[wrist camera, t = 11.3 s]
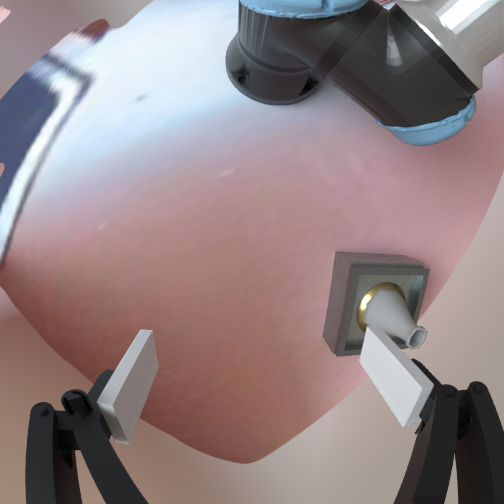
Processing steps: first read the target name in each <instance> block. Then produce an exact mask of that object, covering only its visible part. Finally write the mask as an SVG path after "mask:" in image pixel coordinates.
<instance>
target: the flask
mask: <svg viewBox="0 0 504 504" xmlns="http://www.w3.org/2000/svg"><path fill="white" fill-rule="evenodd" d="M363 322H364V323H365V324H367V325H368V326H372V325H378V326H379V327H380V328H381V329H382V330H383V331H384V332H385V333H387V334H391V335H394V336H398V337H400V338H401V339H403V340H405V341H406V345H407V346H408V347H409V348H410V349H416V348H419V347H420V346H421V345H422V343H423V342H424V341H425V339H426V336H427V331H426V330H425V329H424V328H423V327H422V326H421V327H418V326H417V325H416V324H415V322H414V321H413V320H412V317H411V315H410V313H409V311H408V309H407V306H406V304H405V301H404V299H403V298H402V296H401V295H400V294H399V293H398V292H397V291H396V290H395V289H394V288H389V289H378V290H377V291H376V293H375V294H374V295H373V296H372V297H371V299H370V300H369V301H368V302H367V303H366V307H365V313H364V318H363Z"/></svg>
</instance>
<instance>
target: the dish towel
mask: <svg viewBox="0 0 504 504" xmlns="http://www.w3.org/2000/svg"><path fill="white" fill-rule="evenodd" d="M374 1H375V2H377V3H378V4H380V5H382V4H384V3H387V2H389V1H391V0H374Z"/></svg>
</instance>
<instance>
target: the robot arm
mask: <svg viewBox="0 0 504 504" xmlns="http://www.w3.org/2000/svg"><path fill="white" fill-rule="evenodd" d="M503 52H504V0H421V1H419V2H413V1H398V2H397V3H396V4H395V5H394V6H393V7H392V8H391V9H390V10H387V9H385V8H383V7H382V6H381V5H380V4H378V3H377V2H375V1H374V0H239V12H238V33H237V34H236V35H235V37H234V38H233V39H232V41H231V42H230V44H229V46H228V48H227V52H226V70H227V74H228V76H229V79H230V80H231V82H232V84H233V85H234V86H235V87H236V88H237V89H238V90H239V91H240V92H241V93H242V94H244V95H245V96H247V97H249V98H251V99H253V100H255V101H258V102H261V103H264V104H270V105H287V104H292V103H296V102H298V101H301V100H303V99H304V98H306V97H308V96H309V95H310V94H311V93H312V92H313V91H314V90H315V89H316V87H317V86H318V85H319V83H320V81H321V79H322V77H324V78H325V79H326V80H328V81H329V82H330V83H332V84H333V85H334V86H336V87H337V88H338V89H340V90H341V91H342V92H344V93H345V94H346V95H348V96H349V97H350V98H351V99H353V100H354V101H355V102H356V103H358V104H359V105H360V106H361V107H362V108H364V109H365V110H366V111H367V112H368V113H369V114H371V115H372V116H373V117H374V118H375V119H376V121H377V122H378V123H379V124H380V125H381V126H383V127H385V128H387V129H388V130H389V131H391V132H392V133H393V134H394V135H395V136H396V137H397V138H398V139H400V140H401V141H403V142H404V143H407V144H411V145H414V146H428V145H433V144H436V143H439V142H442V141H444V140H446V139H448V138H450V137H452V136H454V135H455V134H457V133H458V132H459V131H460V130H462V129H463V128H464V127H465V122H466V121H469V120H471V119H472V117H473V115H474V113H475V110H476V101H475V96H474V93H475V92H477V91H478V90H479V89H481V88H482V71H483V67H484V66H485V65H487V64H488V63H490V62H491V61H492V60H494V59H495V58H496V57H498V56H499V55H501V54H502V53H503ZM359 362H360V364H361V365H362V367H363V368H364V369H365V371H366V372H367V374H368V375H369V377H370V378H371V380H372V381H373V383H374V384H375V386H376V387H377V388H378V390H379V392H380V393H381V395H382V396H383V398H384V399H385V401H386V402H387V404H388V405H389V407H390V408H391V410H392V411H393V413H394V414H395V416H396V417H397V419H398V420H399V422H400V423H401V425H402V427H403V428H404V427H407V426H410V425H413V424H415V422H416V420H417V419H418V417H419V416H420V418H421V419H422V421H421V423H420V425H419V427H418V429H417V430H416V432H415V434H417V432H418V434H417V438H416V441H415V445H414V448H413V452H412V455H411V458H410V461H409V465H408V467H407V470H406V473H405V476H404V479H403V482H402V484H401V487H400V489H399V492H398V494H397V497H396V499H395V502H394V504H444V502H445V498H446V494H447V490H448V486H449V480H450V476H451V471H452V466H453V459H454V453H455V460H456V469H457V481H458V504H504V431H503V428H502V425H501V422H500V419H499V416H498V413H497V411H496V408H495V405H494V403H493V400H492V398H491V395H490V393H489V391H488V388H487V387H486V385H484V384H483V383H481V382H477V381H475V382H472V383H470V385H469V387H468V389H467V390H459V391H458V390H457V389H456V388H455V387H454V386H452V385H446V384H444V385H442V384H441V383H440V382H439V381H438V380H437V379H436V378H435V377H434V376H433V375H432V374H431V373H430V372H429V371H428V370H427V369H426V368H425V366H423V364H422V363H420V362H419V361H417V360H415V359H410V358H409V357H408V356H407V355H406V354H405V353H404V352H403V351H402V350H401V349H400V348H399V347H398V346H397V345H396V344H395V343H394V342H393V341H392V340H391V339H390V338H389V337H388V335H387V334H386V333H385V332H384V331H383V330H382V329H381V328H380V327H379V326H378V325H372V326H367V329H366V333H365V338H364V343H363V347H362V351H361V356H360V360H359ZM158 368H159V366H158V361H157V355H156V350H155V344H154V338H153V332H152V330H140V331H139V333H138V334H137V336H136V337H135V339H134V341H133V342H132V344H131V345H130V347H129V349H128V350H127V352H126V353H125V355H124V357H123V358H122V360H121V361H120V363H119V365H118V366H117V368H116V370H115V371H114V370H108V369H107V370H106V371H104V372H103V373H101V374H100V376H99V377H98V379H97V380H96V382H95V383H94V385H93V387H92V388H91V390H90V391H89V393H88V394H86V393H85V392H84V391H82V390H78V389H74V390H70V391H67V392H66V393H65V394H64V395H63V396H62V398H61V403H62V405H63V406H64V409H65V411H56V410H54V408H53V406H52V405H51V404H49V403H47V402H41V403H38V404H35V405H34V406H33V407H32V409H31V413H30V420H29V427H28V437H27V448H26V449H27V450H26V470H25V473H26V474H25V483H26V504H82V499H81V493H80V487H79V481H78V474H77V466H76V457H75V450H81V453H82V455H83V458H84V460H85V462H86V464H87V467H88V469H89V471H90V473H91V475H92V478H93V480H94V481H95V484H96V486H97V487H98V489H99V491H100V493H101V495H102V497H103V499H104V501H105V502H106V504H149V503H148V502H147V501H146V499H145V498H144V497H143V495H142V494H141V492H140V491H139V489H138V488H137V487H136V485H135V484H134V482H133V481H132V479H131V478H130V476H129V474H128V473H127V471H126V469H125V468H124V466H123V465H122V463H121V461H120V459H119V458H118V456H117V454H116V452H115V451H114V449H113V447H112V445H111V443H110V442H109V439H110V437H111V435H112V436H113V438H114V440H115V441H116V442H120V443H124V444H130V442H131V440H132V437H133V434H134V431H135V428H136V426H137V423H138V420H139V417H140V415H141V412H142V409H143V407H144V404H145V401H146V399H147V396H148V393H149V391H150V388H151V386H152V383H153V381H154V378H155V375H156V373H157V370H158Z"/></svg>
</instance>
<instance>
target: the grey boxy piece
mask: <svg viewBox="0 0 504 504" xmlns="http://www.w3.org/2000/svg"><path fill="white" fill-rule="evenodd" d="M428 274H429V269H428V268H425V267H424V263H421V262H419V261H417V260H414V259H412V258H410V257H407V256H404V255H385V254H366V253H346V252H336V253H335V261H334V269H333V276H332V283H331V290H330V296H329V303H328V309H327V315H326V320H325V326H324V331H323V338H324V339H325V341H326V343H327V344H328V346H329V348H330V349H331V351H332V353H333V354H336V356H337V357H338V356H350V355H360V354H361V351H362V347H363V343H364V338H365V333H366V329H367V326H368V325H367V324H365V323H364V322H363V318H364V313H365V307H366V303H367V302H368V301H369V300H370V299H371V297H372V296H373V295H374V294H375V293H376V291H377V290H378V289H389V288H394V289H395V290H396V291H397V292H398V293H399V294H400V295H401V296H402V298H403V299H404V301H405V304H406V306H407V309H408V311H409V313H410V315H411V317H412V320H413V321H414V322H415V324H417V320H418V316H419V313H420V309H421V305H422V301H423V297H424V293H425V288H426V284H427V279H428ZM386 334H387V333H386ZM387 335H388V337H389V338H390V339H391V340H392V341H393V342H394V343H395V344H396V345H397V346H398V347H399V348H400V349H406V348H409V347H408V346H407V345H406V341H405V340H403V339H401V338H400V337H398V336H394V335H391V334H387Z"/></svg>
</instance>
